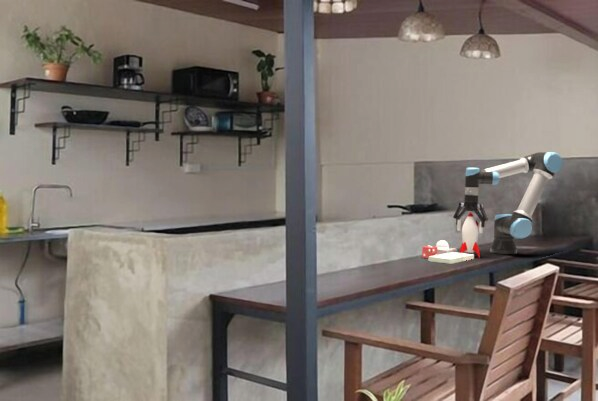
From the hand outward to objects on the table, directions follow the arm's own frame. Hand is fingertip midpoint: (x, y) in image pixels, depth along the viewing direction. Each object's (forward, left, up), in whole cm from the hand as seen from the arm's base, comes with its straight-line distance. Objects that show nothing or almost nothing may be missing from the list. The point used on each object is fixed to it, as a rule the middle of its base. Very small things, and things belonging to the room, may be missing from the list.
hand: (469, 232), depth 363 cm
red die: (+25, +2, -14) cm, 29 cm away
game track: (+17, +12, -14) cm, 25 cm away
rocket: (0, 0, -14) cm, 14 cm away
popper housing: (+14, -6, -14) cm, 20 cm away
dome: (+14, -6, -13) cm, 20 cm away
